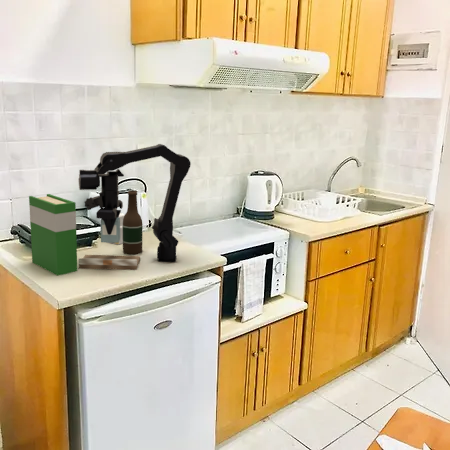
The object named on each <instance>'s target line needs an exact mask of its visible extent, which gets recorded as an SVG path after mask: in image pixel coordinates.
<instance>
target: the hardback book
mask: <svg viewBox="0 0 450 450" xmlns="http://www.w3.org/2000/svg"><path fill="white" fill-rule="evenodd" d="M28 201H29V202H28V204H29V206H28V207H29V221H30V224H29V226H30V240H31V241H30V242H31V245H30V246H31V260H32V261H31V262H32V264H35V266H36V265H37V266H39V267H40V268H42V269H44V270H46V271H48V272H49V273H51V274H53V275H56V276H62V275H63V276H64V275H66V274H70V273H71V274H72V273H74V272H78V247H77V245H78V243H77V240H78V239H77V213H76V211H77V208H76V205H77V204H76V202H75V201H72V200H69V199H66V198H63V197H60V196H56V195H54V194H51V193H47V194H46V196H39V197H36V196H33V195H29V196H28Z"/></svg>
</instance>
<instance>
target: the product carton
mask: <svg viewBox="0 0 450 450" xmlns="http://www.w3.org/2000/svg"><path fill="white" fill-rule="evenodd" d="M119 240H120V218H117V219H116V222H115V225H114V227H113V230H112V233H111V234H110V235H109V234H108V233H107V230H106V226H105V223H104V221H103V220H102V219H100V243H108V242H110V243H109V244H113V243H118V242H119Z"/></svg>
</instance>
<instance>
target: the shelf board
mask: <svg viewBox="0 0 450 450" xmlns="http://www.w3.org/2000/svg"><path fill="white" fill-rule="evenodd" d="M140 261H141V256H140V255H114V254H113V255H111V254H110V255H109V254H106V255H105V254H102V255H101V254H84V256H83V257H78V258H77V262H78V269H81V270H82V269H89V270H121V271H122V270H123V271H124V270H126V271H127V270H128V271H137V270H138V268H139V264H140Z"/></svg>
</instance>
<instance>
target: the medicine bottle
mask: <svg viewBox="0 0 450 450" xmlns="http://www.w3.org/2000/svg"><path fill="white" fill-rule="evenodd" d="M124 215H125V213H123V212H120V215H119V217H118V218H120V240H119V242H118V243H112V244H114V245H123V218H124ZM107 243H109V244H111V243H110V242H107Z"/></svg>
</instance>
